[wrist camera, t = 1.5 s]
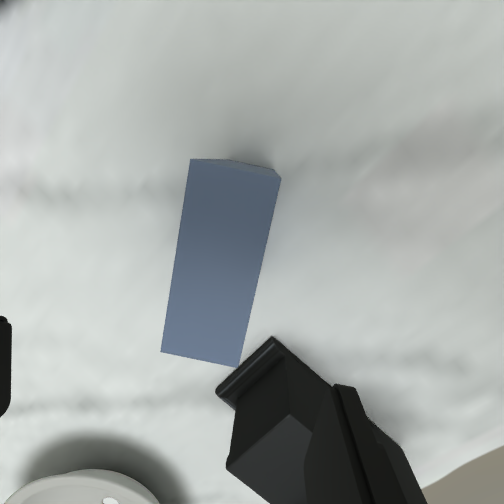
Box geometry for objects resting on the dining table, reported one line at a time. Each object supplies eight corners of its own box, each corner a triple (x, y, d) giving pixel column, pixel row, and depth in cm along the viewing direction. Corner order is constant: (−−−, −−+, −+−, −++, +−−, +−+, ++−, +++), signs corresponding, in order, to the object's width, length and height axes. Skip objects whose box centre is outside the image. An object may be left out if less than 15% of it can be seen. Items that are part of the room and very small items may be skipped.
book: (227, 159, 36) (190, 158, 18) (273, 169, 36) (281, 178, 18) (207, 266, 39) (160, 351, 21) (250, 275, 39) (237, 367, 21)
